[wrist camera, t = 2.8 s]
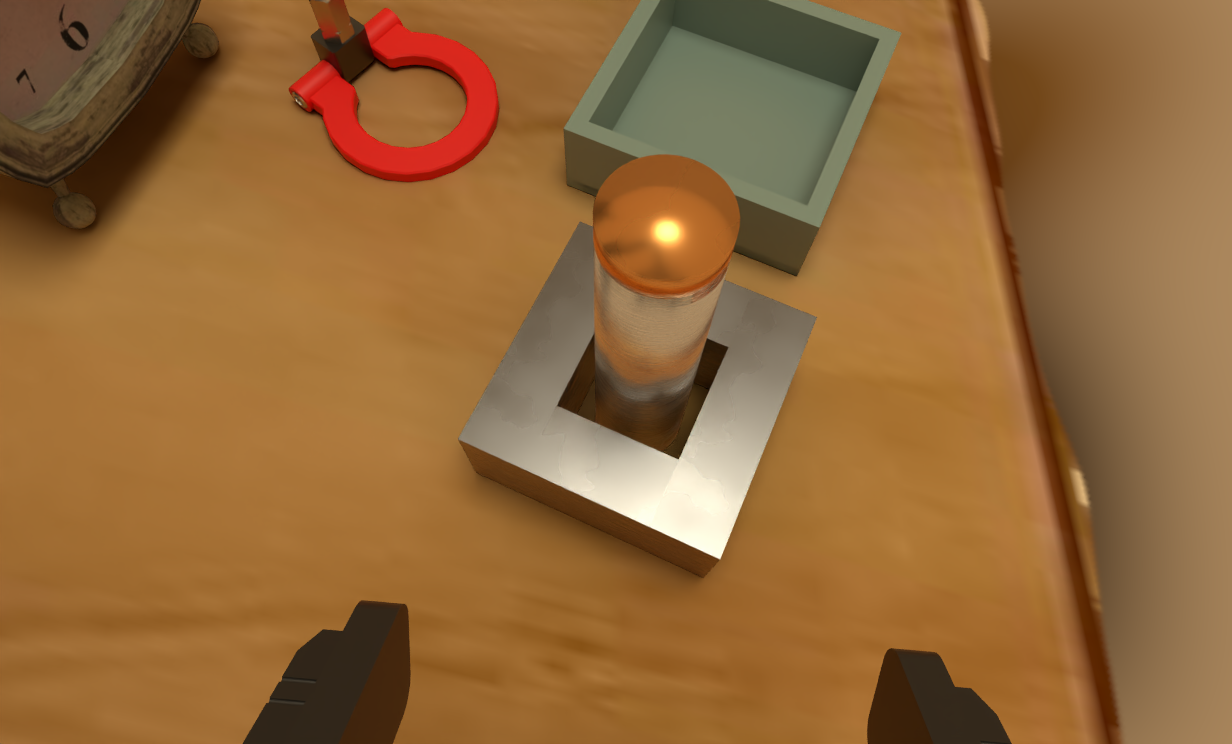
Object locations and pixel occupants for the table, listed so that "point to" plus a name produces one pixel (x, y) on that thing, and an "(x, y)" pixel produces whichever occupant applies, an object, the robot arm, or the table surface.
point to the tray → (737, 107)
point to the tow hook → (385, 38)
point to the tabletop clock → (80, 81)
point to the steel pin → (656, 289)
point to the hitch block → (617, 465)
